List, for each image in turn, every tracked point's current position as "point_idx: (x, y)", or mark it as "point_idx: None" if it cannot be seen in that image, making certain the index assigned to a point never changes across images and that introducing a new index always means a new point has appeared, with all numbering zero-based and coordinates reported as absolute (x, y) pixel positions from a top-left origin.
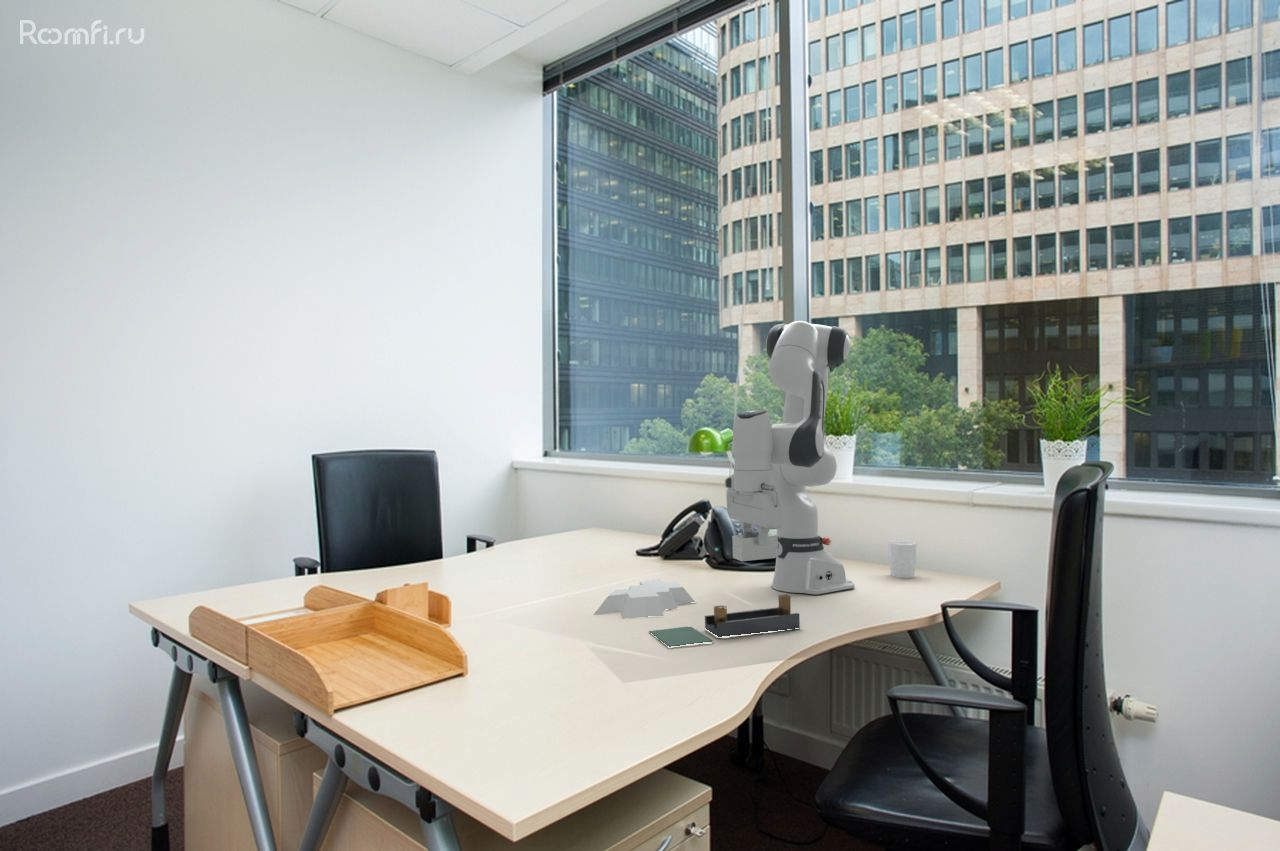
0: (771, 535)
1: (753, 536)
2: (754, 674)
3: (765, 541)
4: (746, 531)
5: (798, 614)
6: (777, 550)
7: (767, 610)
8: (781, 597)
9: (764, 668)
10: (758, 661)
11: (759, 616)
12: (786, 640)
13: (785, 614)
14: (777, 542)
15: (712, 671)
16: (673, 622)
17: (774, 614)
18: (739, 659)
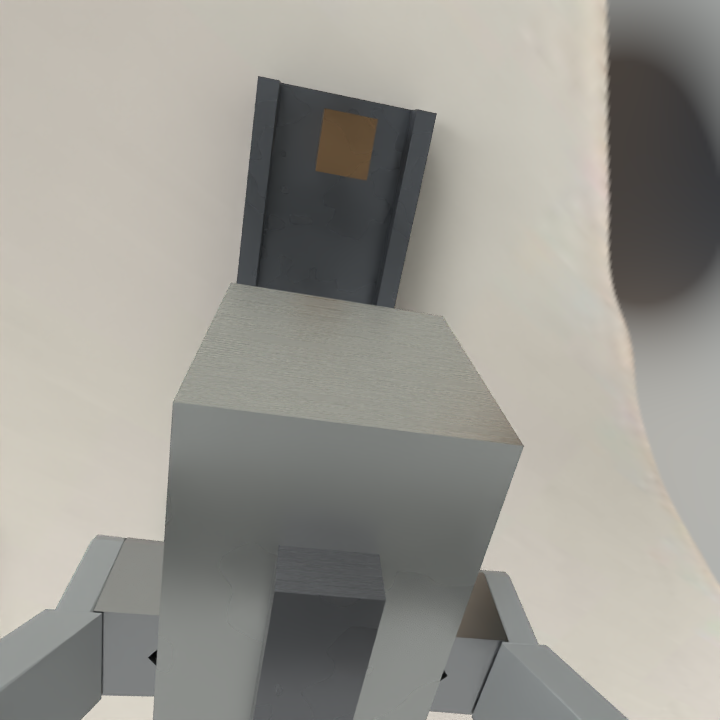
0: (466, 521)
1: (358, 716)
2: (667, 559)
3: (518, 616)
4: (64, 707)
5: (434, 119)
6: (458, 349)
7: (265, 203)
8: (352, 177)
9: (656, 515)
10: (602, 496)
11: (262, 247)
12: (504, 282)
13: (401, 190)
14: (484, 390)
15: (572, 624)
16: (44, 498)
17: (273, 156)
18: (549, 528)
